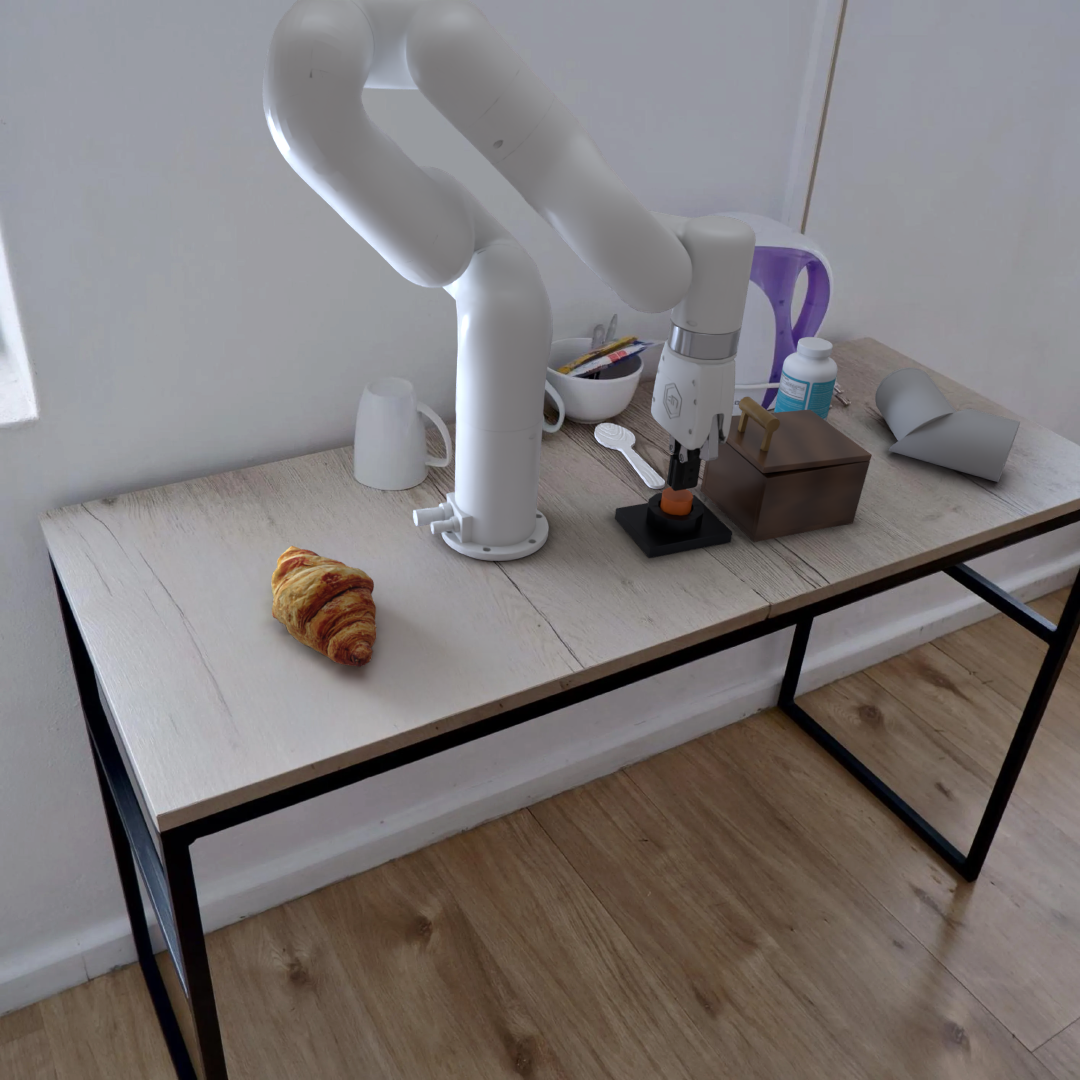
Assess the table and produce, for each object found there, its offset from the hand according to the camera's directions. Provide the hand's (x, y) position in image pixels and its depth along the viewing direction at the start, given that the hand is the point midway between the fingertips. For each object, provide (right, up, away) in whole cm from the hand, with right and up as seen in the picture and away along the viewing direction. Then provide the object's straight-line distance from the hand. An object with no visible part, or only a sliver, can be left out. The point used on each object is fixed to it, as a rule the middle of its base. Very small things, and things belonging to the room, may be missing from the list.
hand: (681, 485), depth 118 cm
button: (0, -3, +2) cm, 3 cm away
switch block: (-1, -5, +3) cm, 6 cm away
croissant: (-38, -14, -15) cm, 43 cm away
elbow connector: (+39, +7, +26) cm, 47 cm away
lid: (+13, +5, +4) cm, 15 cm away
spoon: (-4, +5, +18) cm, 19 cm away
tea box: (+13, -2, +10) cm, 16 cm away
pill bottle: (+20, +9, +28) cm, 36 cm away
